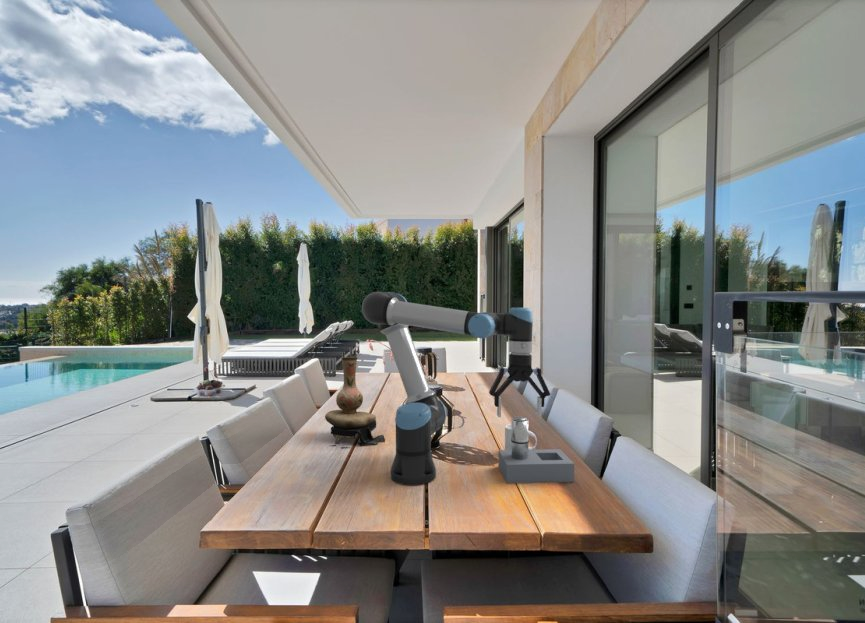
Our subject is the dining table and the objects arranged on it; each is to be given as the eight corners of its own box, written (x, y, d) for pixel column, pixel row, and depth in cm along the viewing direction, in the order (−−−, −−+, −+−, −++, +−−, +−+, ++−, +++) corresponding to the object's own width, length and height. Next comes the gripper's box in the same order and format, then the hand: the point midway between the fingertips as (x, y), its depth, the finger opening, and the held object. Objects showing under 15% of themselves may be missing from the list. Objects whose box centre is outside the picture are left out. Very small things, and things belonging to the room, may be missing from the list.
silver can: (513, 460, 146) (513, 420, 146) (509, 453, 152) (509, 416, 152) (530, 459, 146) (531, 420, 146) (526, 453, 152) (526, 415, 152)
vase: (376, 429, 203) (375, 353, 202) (387, 444, 182) (386, 359, 181) (323, 434, 195) (322, 355, 194) (328, 450, 174) (328, 361, 173)
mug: (538, 459, 164) (538, 430, 163) (505, 458, 165) (505, 429, 165) (535, 451, 172) (535, 424, 172) (504, 450, 173) (504, 423, 173)
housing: (506, 483, 142) (506, 464, 142) (498, 467, 156) (498, 450, 156) (574, 481, 143) (574, 463, 143) (559, 466, 157) (559, 449, 157)
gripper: (485, 354, 144) (484, 419, 145) (560, 355, 145) (559, 419, 146) (481, 351, 152) (480, 413, 152) (553, 352, 153) (551, 413, 153)
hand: (518, 416), depth 149 cm, fingers open, 13 cm apart
